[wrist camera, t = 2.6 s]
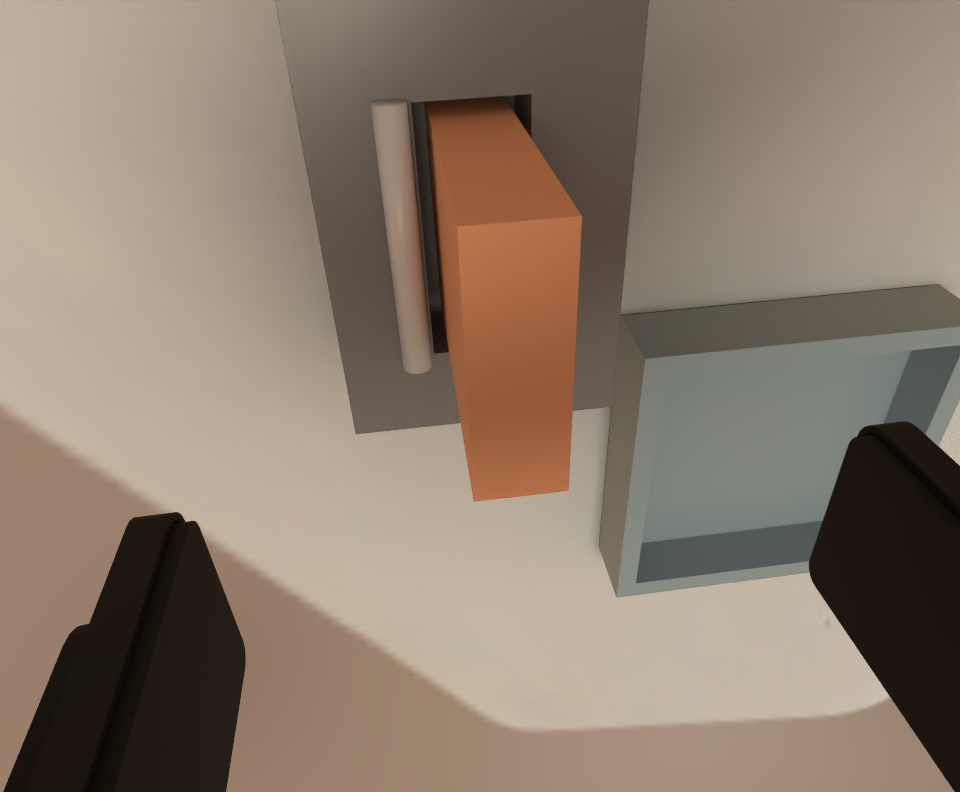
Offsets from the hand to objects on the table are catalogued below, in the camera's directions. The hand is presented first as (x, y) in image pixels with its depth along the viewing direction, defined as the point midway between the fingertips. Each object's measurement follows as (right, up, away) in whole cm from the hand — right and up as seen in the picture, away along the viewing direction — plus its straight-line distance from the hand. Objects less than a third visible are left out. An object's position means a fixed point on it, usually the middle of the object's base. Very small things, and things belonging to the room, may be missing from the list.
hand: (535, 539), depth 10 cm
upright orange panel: (-1, +8, +10) cm, 13 cm away
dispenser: (-1, +9, +12) cm, 15 cm away
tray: (+11, +1, +20) cm, 23 cm away
